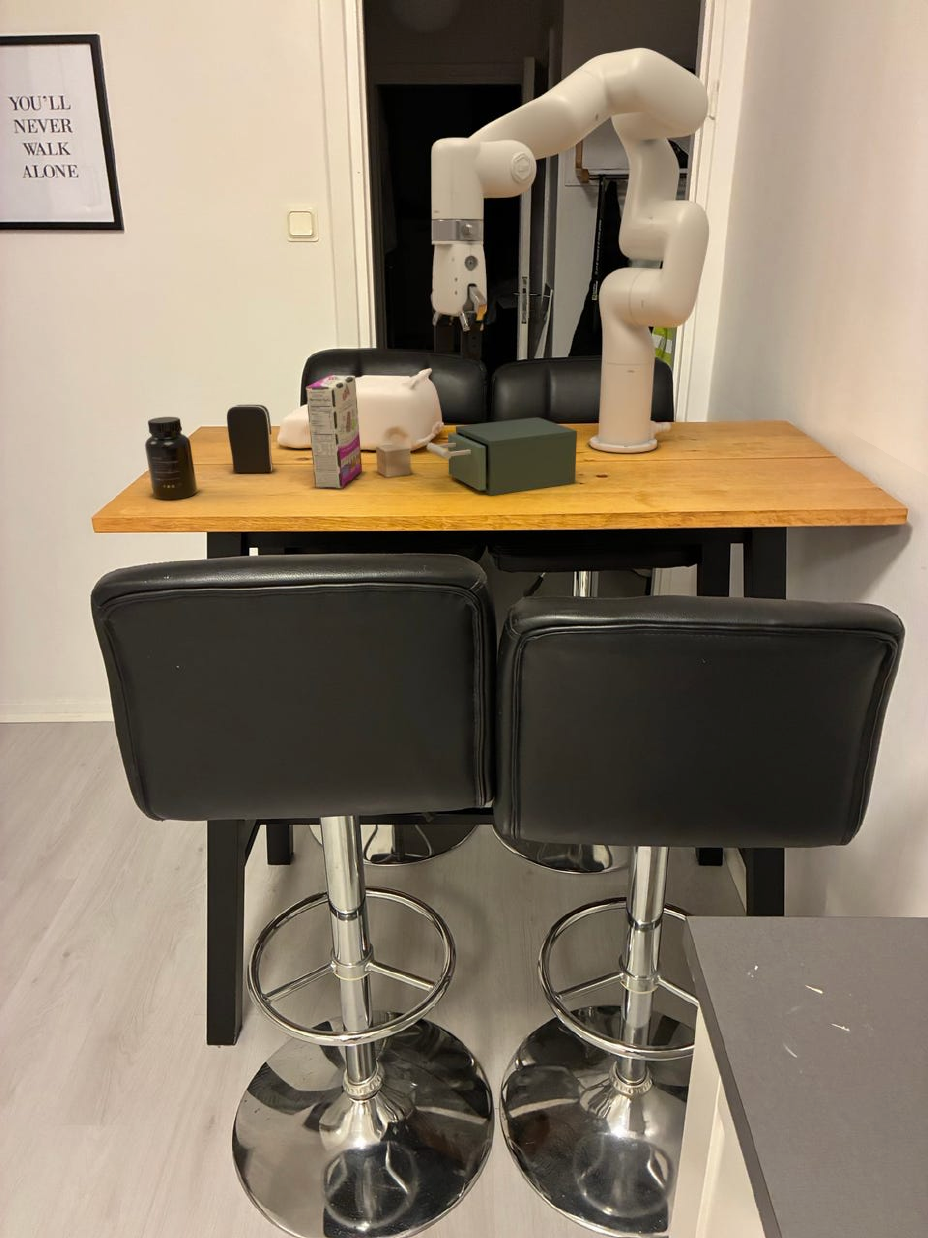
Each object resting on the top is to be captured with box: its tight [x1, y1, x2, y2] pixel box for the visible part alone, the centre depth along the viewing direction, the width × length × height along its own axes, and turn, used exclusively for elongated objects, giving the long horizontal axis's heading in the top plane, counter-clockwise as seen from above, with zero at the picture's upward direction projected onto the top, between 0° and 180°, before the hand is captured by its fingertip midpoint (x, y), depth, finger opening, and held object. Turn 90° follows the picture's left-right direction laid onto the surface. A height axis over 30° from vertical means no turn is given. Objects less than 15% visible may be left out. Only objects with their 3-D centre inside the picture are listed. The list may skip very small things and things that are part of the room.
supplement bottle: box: [144, 416, 198, 501], centre depth 142 cm, size 7×7×12 cm
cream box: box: [375, 443, 412, 478], centre depth 154 cm, size 4×4×4 cm
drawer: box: [426, 432, 489, 491], centre depth 146 cm, size 19×11×7 cm, turn 116°
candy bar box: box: [305, 374, 363, 490], centre depth 148 cm, size 11×5×16 cm, turn 168°
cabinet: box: [455, 417, 578, 497], centre depth 148 cm, size 16×13×9 cm
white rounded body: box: [276, 367, 445, 452], centre depth 175 cm, size 19×30×13 cm, turn 79°
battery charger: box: [226, 404, 274, 474], centre depth 155 cm, size 7×4×11 cm, turn 88°
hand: (457, 354), depth 139 cm, fingers open, 9 cm apart
